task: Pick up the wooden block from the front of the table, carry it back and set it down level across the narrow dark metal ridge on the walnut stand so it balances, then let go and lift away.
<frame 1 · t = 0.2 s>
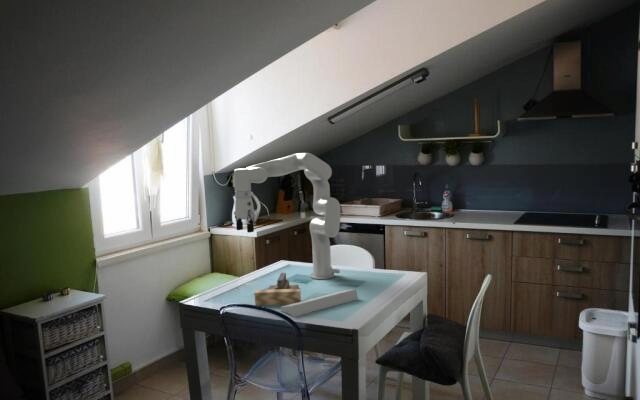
hand: (245, 230, 245), 31 cm above the table, tool pointing down, fingers open, 9 cm apart
decorative molding: (320, 306, 228), on the table
wooden block: (278, 303, 233), on the table
ridge stand: (282, 292, 249), on the table
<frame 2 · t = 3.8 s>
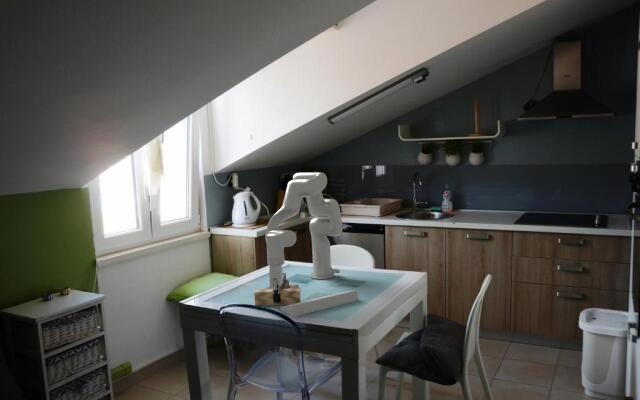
hand: (277, 300, 233), 1 cm above the table, tool pointing down, fingers closed on wooden block, 4 cm apart
wooden block: (278, 303, 233), on the table, touching gripper
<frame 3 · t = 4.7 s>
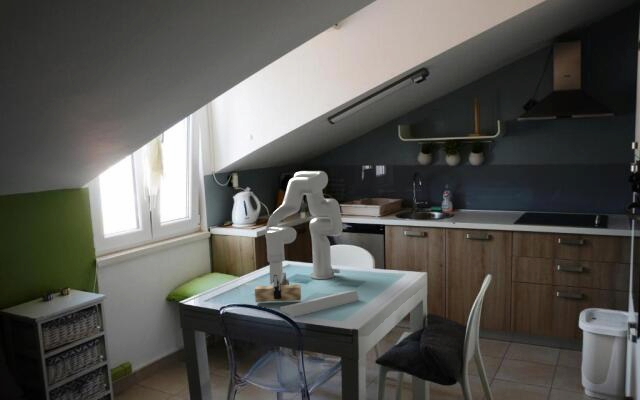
hand: (278, 296, 233), 3 cm above the table, tool pointing down, fingers closed on wooden block, 4 cm apart
wooden block: (278, 299, 233), point 1 cm above the table, touching gripper
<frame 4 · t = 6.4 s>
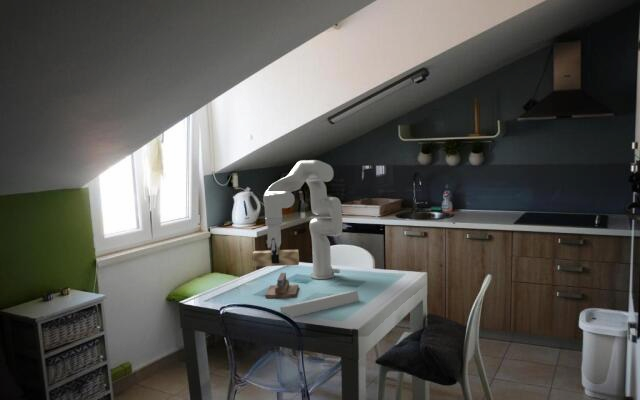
hand: (276, 261, 231), 19 cm above the table, tool pointing down, fingers closed on wooden block, 4 cm apart
wooden block: (276, 264, 231), point 18 cm above the table, touching gripper
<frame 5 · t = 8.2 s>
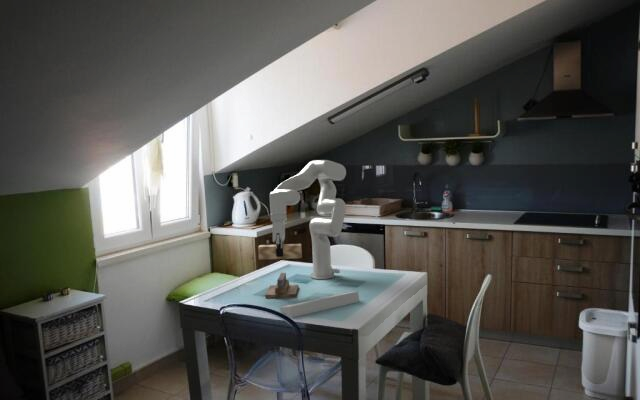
hand: (280, 255, 247), 18 cm above the table, tool pointing down, fingers closed on wooden block, 4 cm apart
wooden block: (280, 257, 247), point 17 cm above the table, touching gripper
when the fingers open (10 cm above the table, at t = 9.9 s): wooden block stays where it is, resting on ridge stand.
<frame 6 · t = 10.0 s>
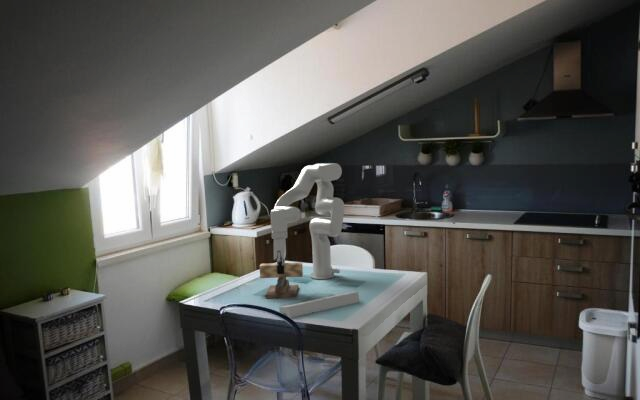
hand: (281, 272, 248), 10 cm above the table, tool pointing down, fingers open, 4 cm apart
wooden block: (281, 276, 248), point 8 cm above the table, touching ridge stand
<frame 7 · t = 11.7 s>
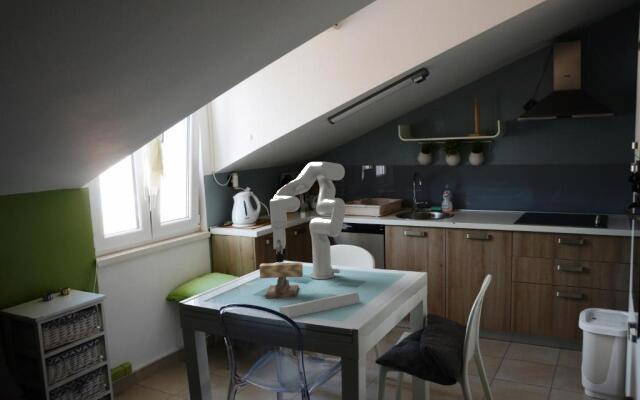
hand: (281, 259, 248), 16 cm above the table, tool pointing down, fingers open, 9 cm apart
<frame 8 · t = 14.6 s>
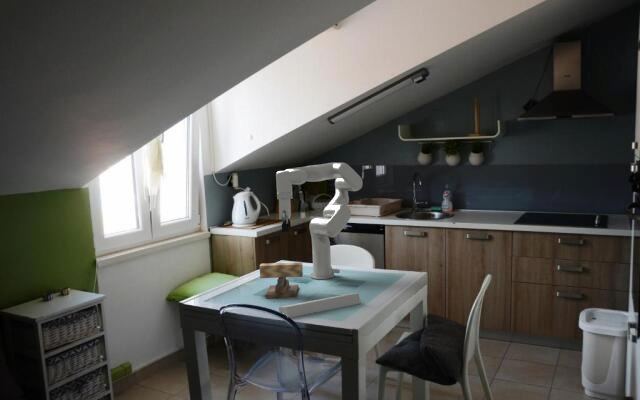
hand: (286, 230, 258), 28 cm above the table, tool pointing down, fingers open, 9 cm apart
at the end: wooden block inside the target area on the ridge stand (0.1 cm from its centre), point 8.0 cm above the ridge stand's base; wooden block tilted 0°; wooden block touching ridge stand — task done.
